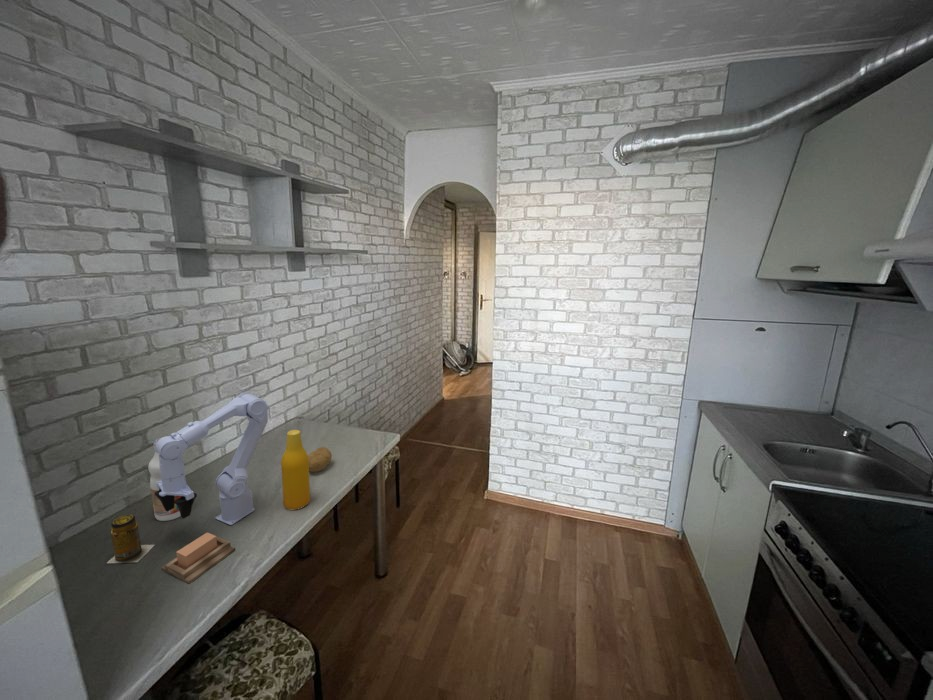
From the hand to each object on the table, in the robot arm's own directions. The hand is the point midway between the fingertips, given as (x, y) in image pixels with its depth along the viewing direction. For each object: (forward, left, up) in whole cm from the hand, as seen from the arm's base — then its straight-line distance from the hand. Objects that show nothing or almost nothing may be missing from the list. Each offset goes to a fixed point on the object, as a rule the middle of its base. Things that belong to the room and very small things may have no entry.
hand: (178, 512), depth 119 cm
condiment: (+10, -7, -10) cm, 16 cm away
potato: (-52, +8, -10) cm, 54 cm away
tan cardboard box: (+3, +13, -9) cm, 16 cm away
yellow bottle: (-30, +18, -10) cm, 36 cm away
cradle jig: (+3, +13, -10) cm, 17 cm away
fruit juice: (-7, -16, -10) cm, 20 cm away
